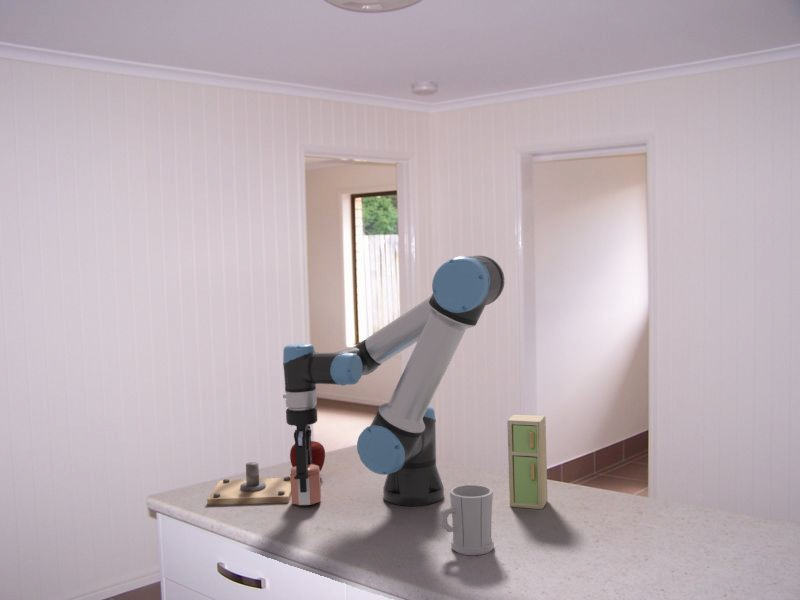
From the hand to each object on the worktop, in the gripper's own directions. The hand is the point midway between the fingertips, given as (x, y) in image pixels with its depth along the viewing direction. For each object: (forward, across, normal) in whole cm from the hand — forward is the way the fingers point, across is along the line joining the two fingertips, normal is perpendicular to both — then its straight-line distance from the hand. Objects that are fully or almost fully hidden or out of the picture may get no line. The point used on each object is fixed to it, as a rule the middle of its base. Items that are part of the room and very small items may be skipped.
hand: (306, 499), depth 192 cm
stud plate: (+1, -9, -14) cm, 17 cm away
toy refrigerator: (+2, +7, +54) cm, 54 cm away
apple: (+1, -22, -1) cm, 22 cm away
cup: (+2, +33, +37) cm, 49 cm away
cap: (0, 0, 0) cm, 0 cm away
